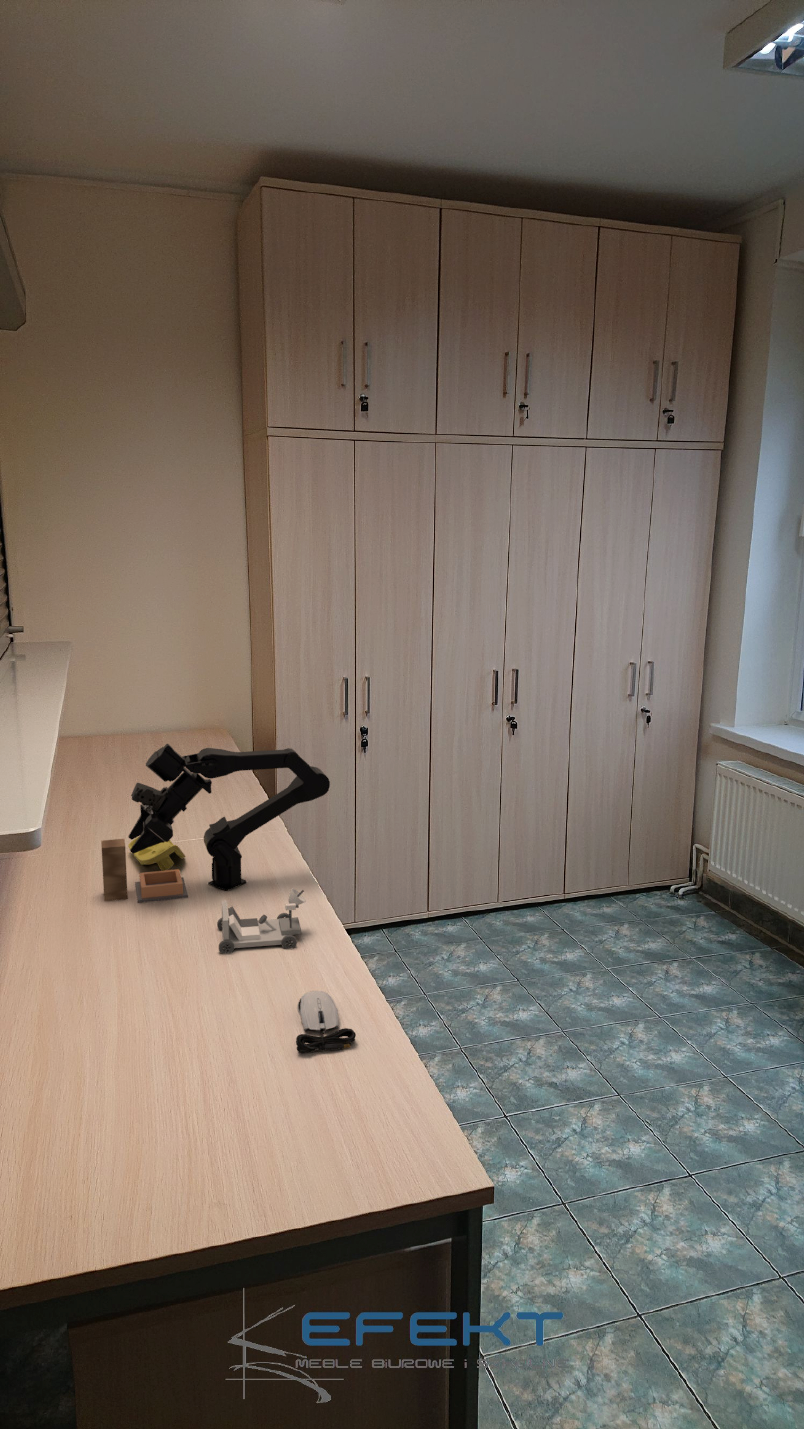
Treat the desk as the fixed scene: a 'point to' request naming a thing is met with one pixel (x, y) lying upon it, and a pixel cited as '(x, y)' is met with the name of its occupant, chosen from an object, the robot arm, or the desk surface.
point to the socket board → (160, 886)
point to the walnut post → (114, 869)
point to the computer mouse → (321, 1024)
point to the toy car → (260, 927)
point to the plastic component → (157, 854)
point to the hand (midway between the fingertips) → (130, 845)
